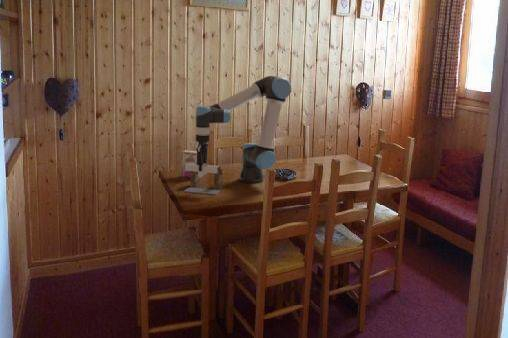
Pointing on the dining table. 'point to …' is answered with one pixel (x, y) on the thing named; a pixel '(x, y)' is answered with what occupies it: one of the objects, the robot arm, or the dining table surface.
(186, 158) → the candy bar box
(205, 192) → the mat
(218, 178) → the post
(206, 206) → the dining table surface
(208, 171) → the rail
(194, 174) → the post
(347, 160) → the dining table surface
